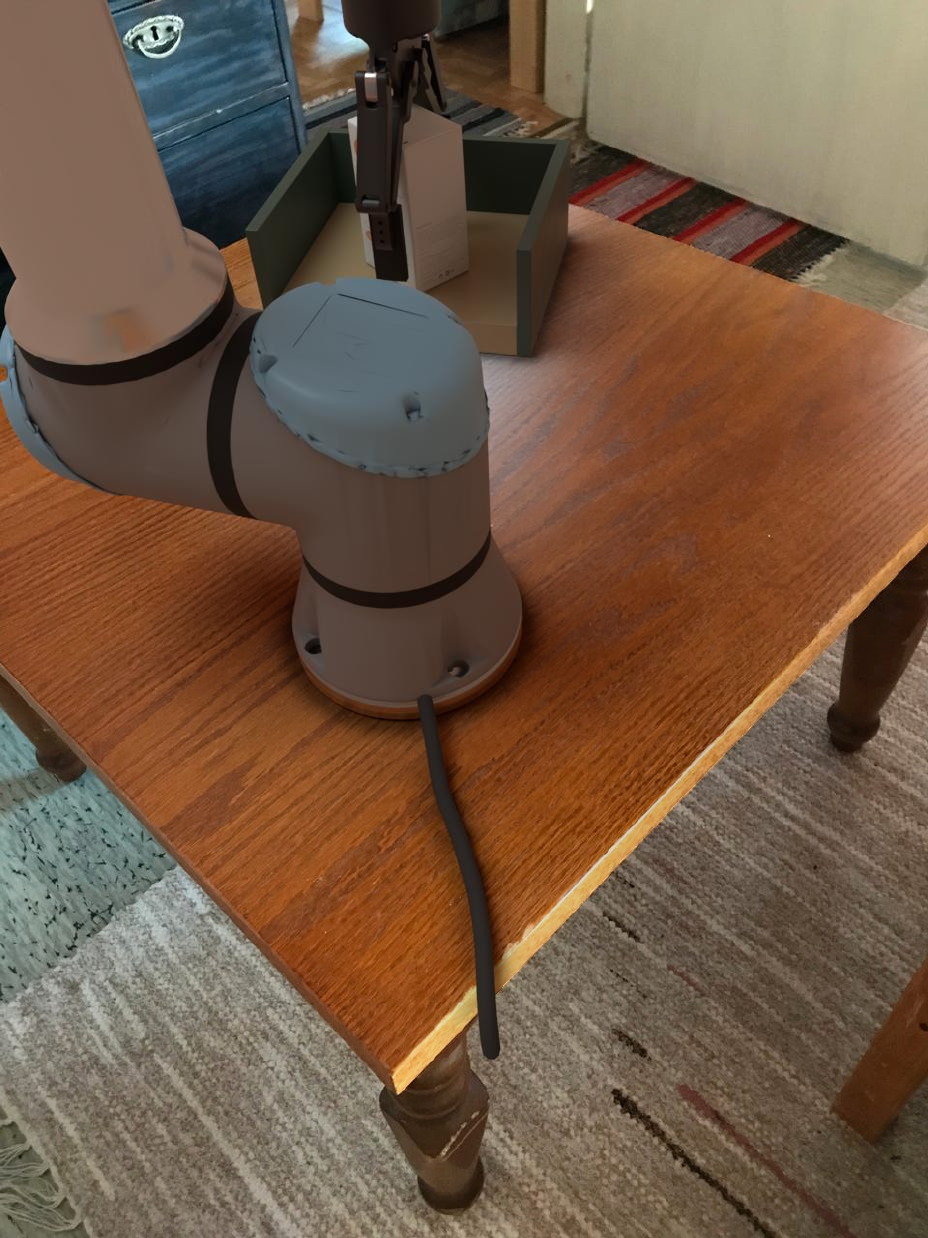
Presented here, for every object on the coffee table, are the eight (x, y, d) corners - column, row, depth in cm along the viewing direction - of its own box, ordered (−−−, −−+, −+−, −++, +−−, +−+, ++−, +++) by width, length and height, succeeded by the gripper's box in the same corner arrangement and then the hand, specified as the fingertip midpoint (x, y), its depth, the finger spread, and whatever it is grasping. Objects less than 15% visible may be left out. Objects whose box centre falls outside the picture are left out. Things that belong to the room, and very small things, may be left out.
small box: (471, 270, 90) (464, 124, 80) (416, 297, 88) (402, 149, 78) (417, 238, 94) (404, 95, 85) (364, 263, 92) (344, 118, 82)
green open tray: (530, 357, 86) (530, 250, 79) (268, 332, 91) (244, 229, 83) (567, 241, 99) (570, 139, 91) (335, 224, 103) (320, 126, 96)
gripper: (390, 32, 64) (417, 318, 80) (474, -82, 80) (483, 177, 96) (282, 28, 66) (330, 310, 82) (386, -83, 81) (409, 172, 97)
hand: (413, 239), depth 89 cm, fingers open, 13 cm apart
